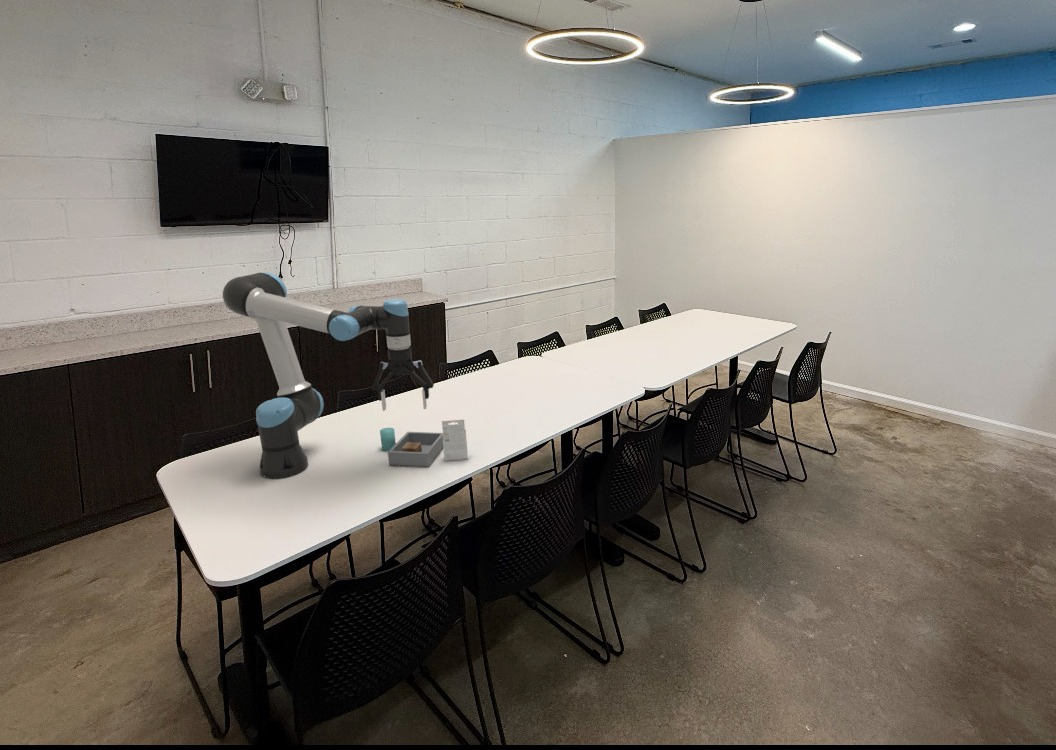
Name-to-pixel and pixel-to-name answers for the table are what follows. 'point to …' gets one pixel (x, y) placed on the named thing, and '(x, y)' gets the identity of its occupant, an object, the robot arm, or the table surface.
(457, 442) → the ink box
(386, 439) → the cylinder
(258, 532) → the table surface
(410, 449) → the cube
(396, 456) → the tote
